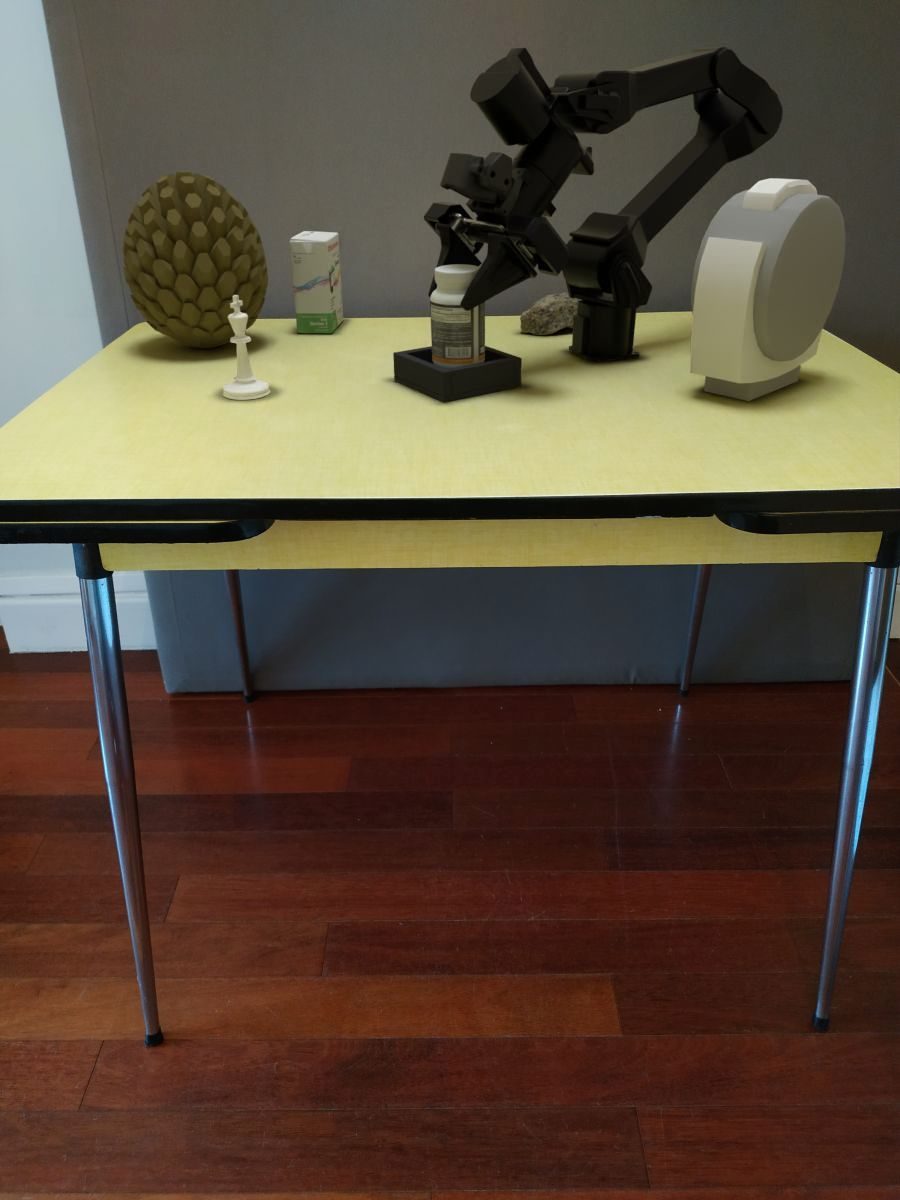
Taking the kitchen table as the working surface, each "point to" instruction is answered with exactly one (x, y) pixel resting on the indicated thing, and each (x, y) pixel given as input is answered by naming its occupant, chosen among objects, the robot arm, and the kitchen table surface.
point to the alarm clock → (764, 287)
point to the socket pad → (457, 374)
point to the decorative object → (193, 259)
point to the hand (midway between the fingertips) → (446, 303)
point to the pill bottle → (456, 319)
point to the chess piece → (243, 361)
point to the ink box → (316, 281)
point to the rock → (549, 314)
